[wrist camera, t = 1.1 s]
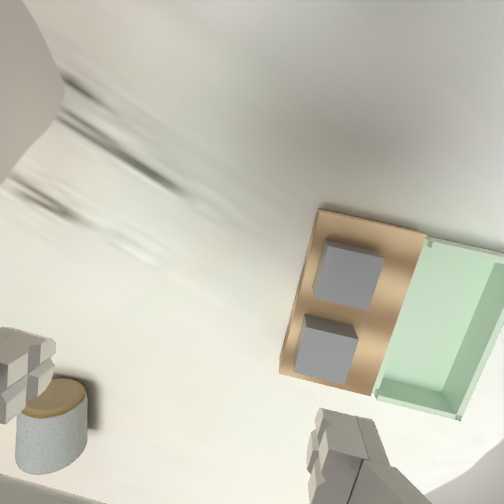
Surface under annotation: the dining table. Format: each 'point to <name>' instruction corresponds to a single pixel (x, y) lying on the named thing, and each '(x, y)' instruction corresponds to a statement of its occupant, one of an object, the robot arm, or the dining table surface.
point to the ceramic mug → (52, 428)
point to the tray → (444, 329)
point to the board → (364, 321)
